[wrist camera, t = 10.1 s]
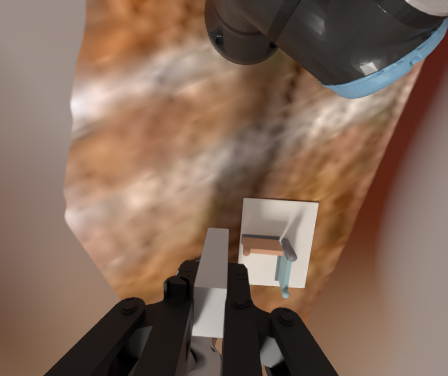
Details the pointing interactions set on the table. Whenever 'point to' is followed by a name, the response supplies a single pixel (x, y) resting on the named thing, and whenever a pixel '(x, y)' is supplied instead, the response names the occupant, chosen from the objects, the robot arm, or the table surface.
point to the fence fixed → (286, 266)
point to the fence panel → (261, 246)
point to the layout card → (277, 237)
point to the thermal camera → (203, 356)
